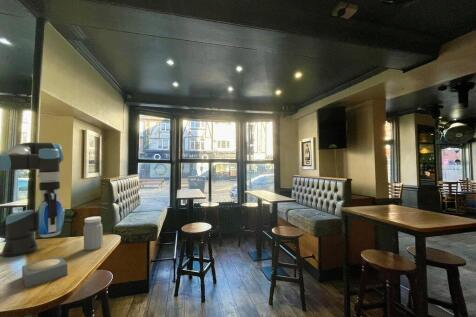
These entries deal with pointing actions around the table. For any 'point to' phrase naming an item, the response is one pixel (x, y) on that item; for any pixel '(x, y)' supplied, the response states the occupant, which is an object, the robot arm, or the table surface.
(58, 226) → the beer can
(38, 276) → the riser
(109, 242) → the table surface
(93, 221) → the jar
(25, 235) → the robot arm
